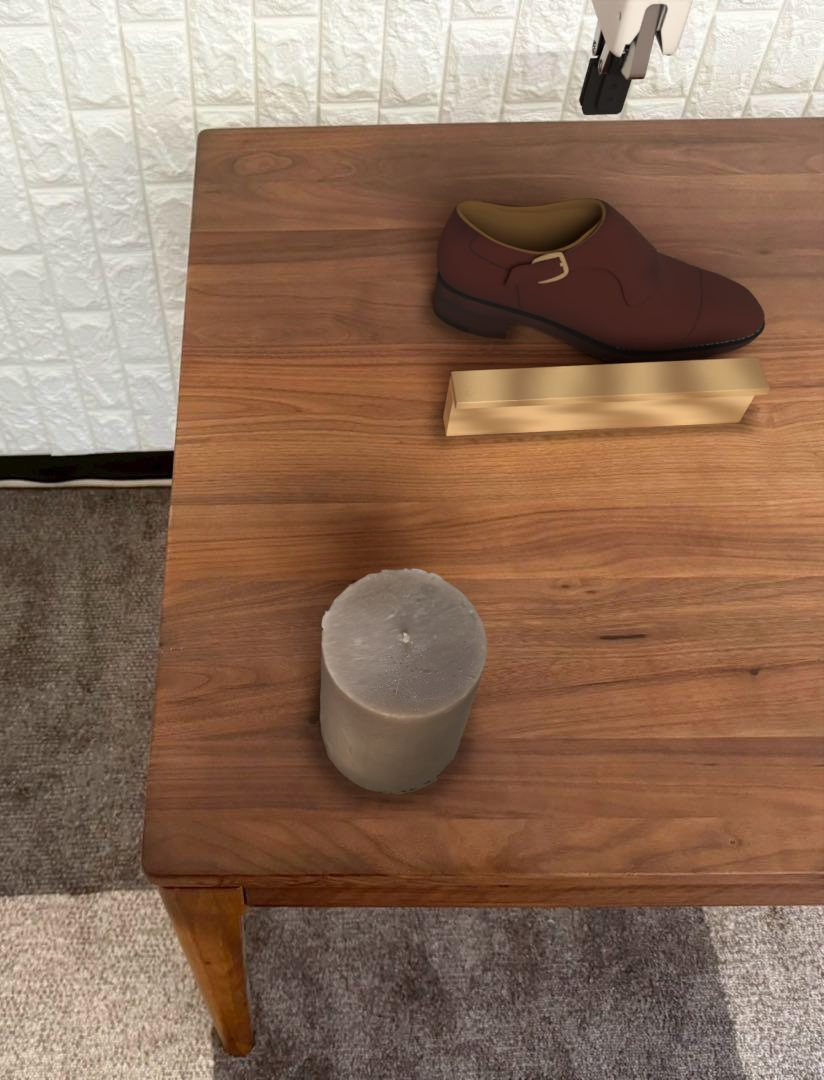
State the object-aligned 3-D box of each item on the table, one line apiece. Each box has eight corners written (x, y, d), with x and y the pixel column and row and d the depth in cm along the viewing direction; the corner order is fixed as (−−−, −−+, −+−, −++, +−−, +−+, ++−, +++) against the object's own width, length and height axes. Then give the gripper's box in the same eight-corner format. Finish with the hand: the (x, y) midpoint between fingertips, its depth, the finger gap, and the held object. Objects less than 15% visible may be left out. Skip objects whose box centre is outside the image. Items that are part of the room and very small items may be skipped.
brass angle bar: (732, 403, 84) (758, 356, 79) (743, 434, 82) (770, 388, 77) (442, 417, 84) (451, 371, 79) (447, 448, 82) (456, 403, 77)
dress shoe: (757, 383, 85) (817, 281, 75) (423, 344, 88) (438, 240, 78) (751, 304, 89) (806, 197, 80) (434, 269, 93) (449, 162, 83)
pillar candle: (452, 806, 67) (486, 724, 54) (307, 781, 68) (306, 694, 55) (466, 672, 72) (499, 568, 59) (330, 651, 73) (334, 543, 60)
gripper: (760, -78, 63) (666, 168, 78) (699, -194, 71) (625, 51, 86) (640, -75, 63) (570, 171, 78) (592, -191, 70) (537, 54, 86)
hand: (599, 108), depth 82 cm, fingers closed
